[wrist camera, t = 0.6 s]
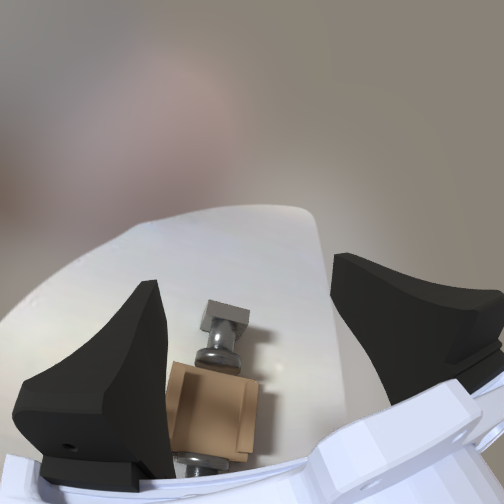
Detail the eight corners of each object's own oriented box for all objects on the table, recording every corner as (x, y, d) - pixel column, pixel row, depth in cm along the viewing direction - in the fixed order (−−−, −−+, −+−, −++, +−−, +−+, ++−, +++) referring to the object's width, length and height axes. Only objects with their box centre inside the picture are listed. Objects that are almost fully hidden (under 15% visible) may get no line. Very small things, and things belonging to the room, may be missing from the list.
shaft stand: (236, 522, 17) (252, 530, 14) (144, 508, 16) (144, 516, 13) (256, 329, 31) (270, 310, 28) (185, 310, 29) (191, 289, 27)
